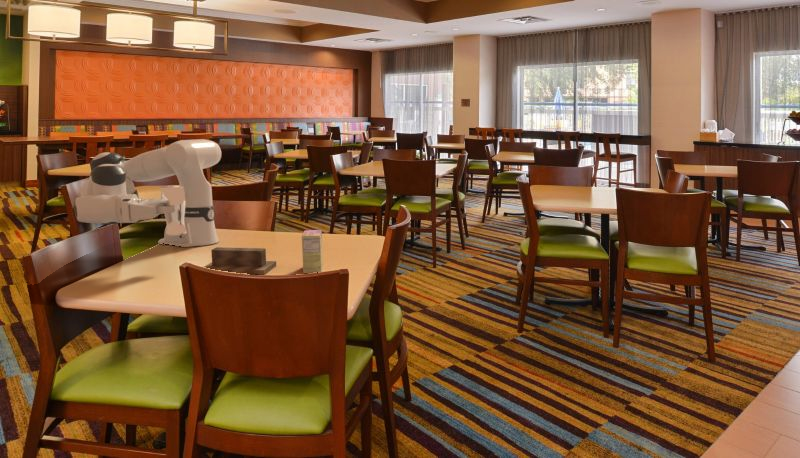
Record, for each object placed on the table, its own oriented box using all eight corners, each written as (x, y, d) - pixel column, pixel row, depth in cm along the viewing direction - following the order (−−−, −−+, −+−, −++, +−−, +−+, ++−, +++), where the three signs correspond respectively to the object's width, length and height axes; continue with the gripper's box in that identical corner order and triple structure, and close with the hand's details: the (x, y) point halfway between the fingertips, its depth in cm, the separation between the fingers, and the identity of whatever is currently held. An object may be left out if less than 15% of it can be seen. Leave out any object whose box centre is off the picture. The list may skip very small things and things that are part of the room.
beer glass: (179, 230, 198) (175, 184, 195) (192, 232, 194) (188, 185, 191) (160, 234, 193) (155, 186, 190) (173, 236, 189) (169, 188, 186)
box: (304, 266, 198) (303, 229, 195) (322, 265, 198) (321, 229, 196) (302, 274, 187) (301, 236, 185) (321, 273, 188) (320, 235, 186)
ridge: (200, 273, 188) (199, 252, 187) (216, 264, 200) (215, 244, 199) (264, 275, 186) (263, 254, 185) (276, 265, 198) (275, 245, 197)
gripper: (139, 213, 200) (183, 212, 203) (122, 223, 181) (171, 222, 183) (138, 194, 199) (182, 193, 201) (120, 202, 179) (169, 201, 182)
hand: (177, 207), depth 192 cm, fingers closed on beer glass, 7 cm apart
